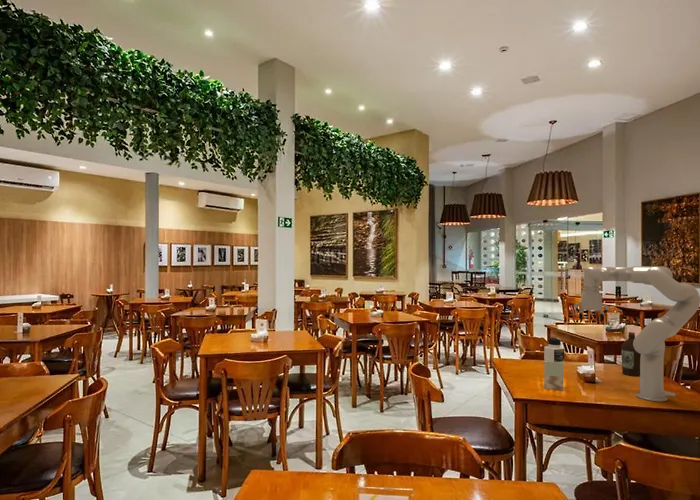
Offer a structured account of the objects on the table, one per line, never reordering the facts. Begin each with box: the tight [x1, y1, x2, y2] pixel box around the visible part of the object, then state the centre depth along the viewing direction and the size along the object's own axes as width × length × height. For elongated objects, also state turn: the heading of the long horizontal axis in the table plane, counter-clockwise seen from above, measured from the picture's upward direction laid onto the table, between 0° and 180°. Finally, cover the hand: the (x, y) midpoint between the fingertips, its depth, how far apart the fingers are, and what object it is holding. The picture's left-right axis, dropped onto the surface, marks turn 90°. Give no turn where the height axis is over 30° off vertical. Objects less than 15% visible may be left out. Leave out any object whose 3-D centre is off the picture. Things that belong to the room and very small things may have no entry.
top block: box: [543, 360, 565, 378], centre depth 238 cm, size 9×9×7 cm
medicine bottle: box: [543, 337, 566, 363], centre depth 238 cm, size 7×7×12 cm
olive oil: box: [620, 331, 641, 377], centre depth 269 cm, size 11×11×25 cm
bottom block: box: [543, 374, 564, 391], centre depth 238 cm, size 9×9×7 cm
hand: (591, 321), depth 246 cm, fingers open, 9 cm apart
